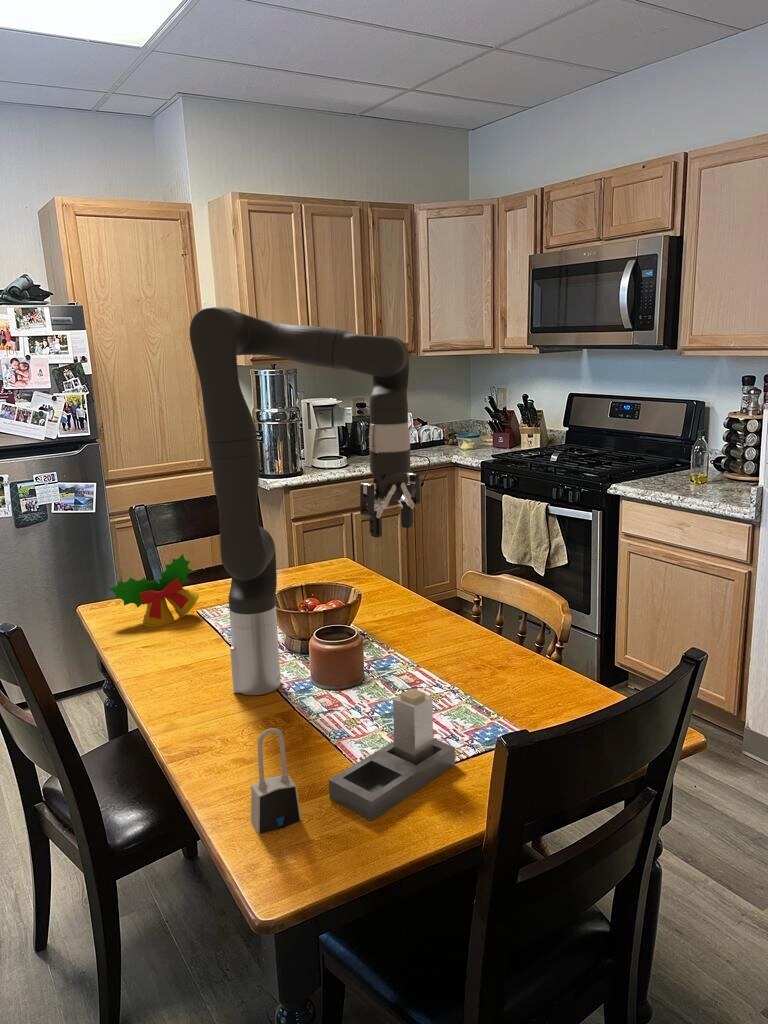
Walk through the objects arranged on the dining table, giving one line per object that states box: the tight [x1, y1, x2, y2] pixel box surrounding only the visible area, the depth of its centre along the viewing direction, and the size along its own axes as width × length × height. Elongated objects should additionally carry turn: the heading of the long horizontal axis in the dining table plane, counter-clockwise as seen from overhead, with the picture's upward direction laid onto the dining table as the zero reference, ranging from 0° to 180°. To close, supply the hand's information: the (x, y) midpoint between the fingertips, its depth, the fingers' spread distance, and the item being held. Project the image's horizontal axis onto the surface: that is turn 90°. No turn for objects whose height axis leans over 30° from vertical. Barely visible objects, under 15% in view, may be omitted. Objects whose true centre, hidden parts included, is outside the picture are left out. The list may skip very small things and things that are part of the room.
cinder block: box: [328, 737, 456, 822], centre depth 124 cm, size 20×9×3 cm, turn 137°
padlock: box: [250, 727, 302, 835], centre depth 114 cm, size 7×4×15 cm, turn 117°
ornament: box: [108, 553, 200, 628], centre depth 196 cm, size 21×8×15 cm, turn 108°
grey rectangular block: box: [392, 688, 434, 765], centre depth 127 cm, size 4×4×13 cm
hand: (391, 532), depth 147 cm, fingers open, 8 cm apart
